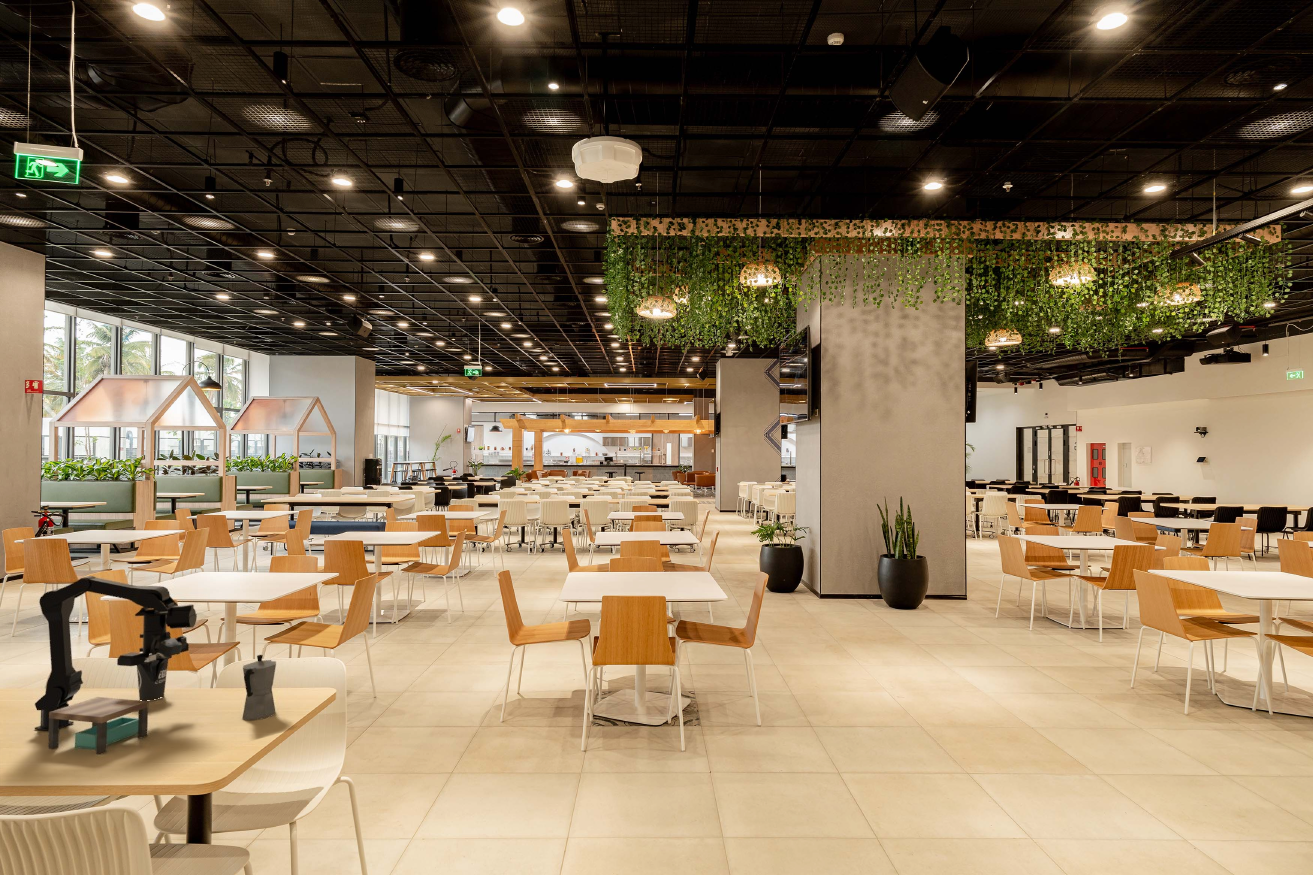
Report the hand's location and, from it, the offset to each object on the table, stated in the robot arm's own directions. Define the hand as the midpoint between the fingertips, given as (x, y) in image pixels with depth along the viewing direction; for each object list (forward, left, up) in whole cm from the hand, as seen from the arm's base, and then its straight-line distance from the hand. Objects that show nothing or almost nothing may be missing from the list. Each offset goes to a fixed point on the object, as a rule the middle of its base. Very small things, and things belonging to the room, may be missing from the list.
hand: (153, 681), depth 212 cm
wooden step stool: (+3, -18, -11) cm, 21 cm away
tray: (+3, -16, -11) cm, 20 cm away
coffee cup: (-18, +15, -11) cm, 26 cm away
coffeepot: (+30, +8, -11) cm, 33 cm away
